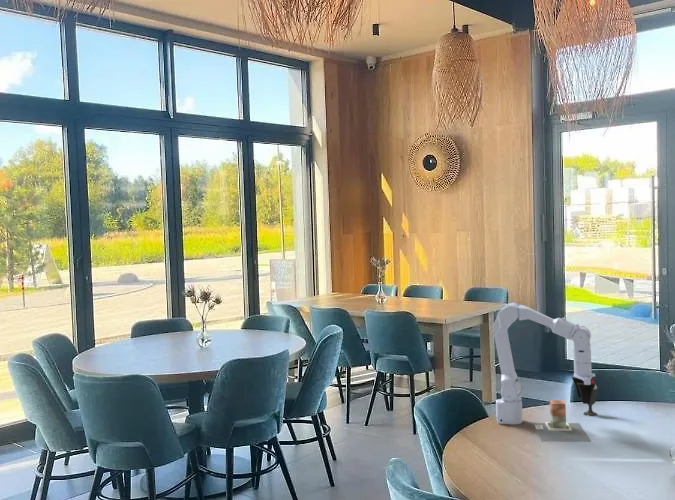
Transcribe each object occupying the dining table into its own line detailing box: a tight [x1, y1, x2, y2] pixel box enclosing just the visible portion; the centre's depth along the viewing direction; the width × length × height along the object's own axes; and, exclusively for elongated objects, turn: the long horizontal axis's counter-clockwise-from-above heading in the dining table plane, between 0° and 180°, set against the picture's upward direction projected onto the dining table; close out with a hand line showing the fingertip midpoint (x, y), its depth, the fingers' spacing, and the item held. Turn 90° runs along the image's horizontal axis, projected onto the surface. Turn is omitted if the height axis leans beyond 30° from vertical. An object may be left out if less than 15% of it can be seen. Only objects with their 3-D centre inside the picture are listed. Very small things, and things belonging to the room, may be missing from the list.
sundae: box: [583, 377, 600, 417], centre depth 247 cm, size 7×7×15 cm
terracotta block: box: [549, 399, 567, 418], centre depth 231 cm, size 4×4×4 cm
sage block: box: [549, 413, 567, 429], centre depth 231 cm, size 4×4×4 cm
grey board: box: [532, 421, 592, 443], centre depth 226 cm, size 16×20×1 cm
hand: (583, 400), depth 229 cm, fingers open, 7 cm apart
